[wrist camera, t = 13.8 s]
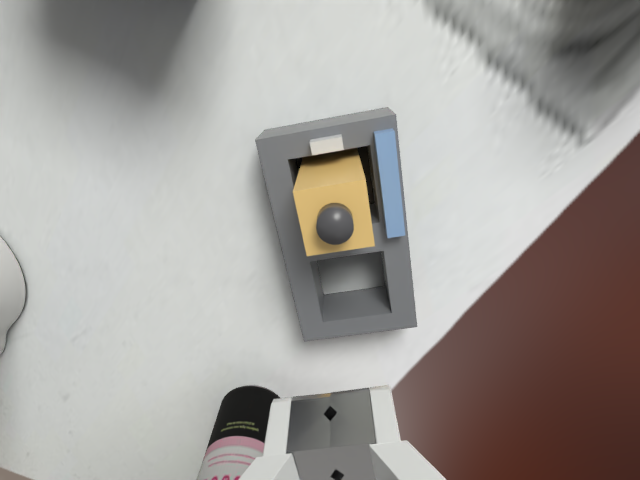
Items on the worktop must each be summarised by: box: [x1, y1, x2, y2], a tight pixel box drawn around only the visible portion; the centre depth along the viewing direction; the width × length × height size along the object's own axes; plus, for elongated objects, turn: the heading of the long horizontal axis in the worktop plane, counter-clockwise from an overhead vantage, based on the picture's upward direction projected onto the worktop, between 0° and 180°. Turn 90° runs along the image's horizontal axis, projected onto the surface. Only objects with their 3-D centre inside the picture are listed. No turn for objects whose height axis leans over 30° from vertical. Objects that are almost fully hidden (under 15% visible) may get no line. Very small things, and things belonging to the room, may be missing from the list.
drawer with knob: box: [293, 148, 375, 256], centre depth 26 cm, size 4×4×10 cm
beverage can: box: [197, 385, 280, 480], centre depth 34 cm, size 6×6×15 cm
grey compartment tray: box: [255, 107, 417, 341], centre depth 30 cm, size 9×16×5 cm, turn 10°
